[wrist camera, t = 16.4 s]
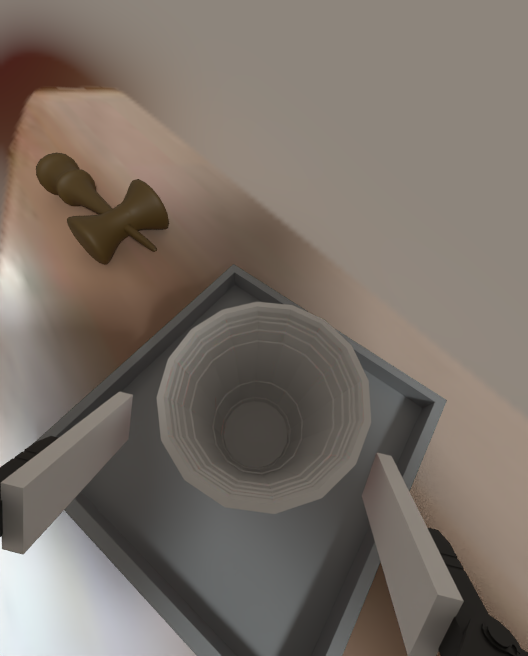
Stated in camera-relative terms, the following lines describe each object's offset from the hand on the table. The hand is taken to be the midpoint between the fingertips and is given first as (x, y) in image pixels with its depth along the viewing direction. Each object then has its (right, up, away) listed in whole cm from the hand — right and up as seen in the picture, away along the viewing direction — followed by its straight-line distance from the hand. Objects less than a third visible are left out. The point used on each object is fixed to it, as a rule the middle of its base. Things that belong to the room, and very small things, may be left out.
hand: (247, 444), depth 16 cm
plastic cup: (0, -3, +10) cm, 10 cm away
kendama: (-19, +19, +22) cm, 34 cm away
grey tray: (0, -3, +10) cm, 11 cm away
